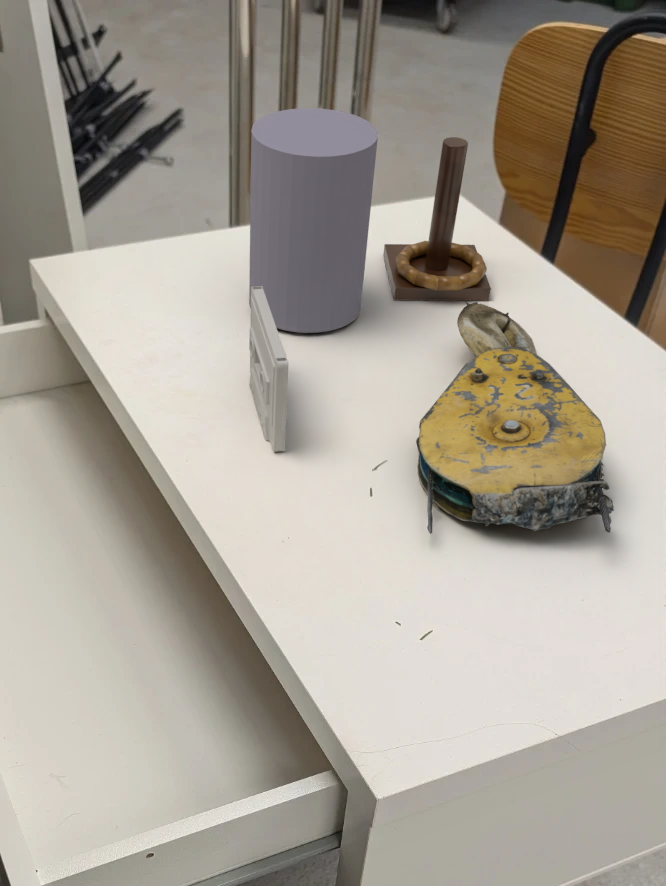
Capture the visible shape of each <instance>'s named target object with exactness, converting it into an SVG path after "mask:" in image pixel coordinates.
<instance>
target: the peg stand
mask: <svg viewBox="0 0 666 886" xmlns="http://www.w3.org/2000/svg"><path fill="white" fill-rule="evenodd" d="M468 147H469V141H468V140H467V139H464V138H461V137H458V136H457V137H456V136H455V137H454V136H451V137H446V138H444V139H443V140H442V146H441V152H440V158H439V159H440V160H439V166H438V171H437V172H438V173H437V179H436V186H435V194H434V199H433V205H432V213H431V214H432V215H431V221H430V226H429V234H428V240H427V241H428V247H427V254H426V255H422V256H419V257H415V258H412V259H411V260H410V261H409V263H410V265H411V266H412V267H414V268H415V269H417V270H418V271H420V272H423V273H427V274H431V275H435V276H460V275H463V274H466V273H469V272H471V271H472V266H471V265H470V264H468V263H467V262H465V261H463V260H462V259H460V258H456V257H452V256H450V251H451V245H452V243H453V237H454V232H455V226H456V220H457V213H458V207H459V202H460V196H461V190H462V189H461V188H462V183H463V177H464V170H465V165H466V158H467V153H468ZM409 245H412V244H411V243H410V244H409V243H408V244H407V243H403V244H402V243H385V244H384V245H383V255H382V257H383V261H384V264H385V269H386V273H387V277H388V281H389V285H390V288H391V292H392V296H393V300H394V301H489V300H490V296H491V292H492V287H491V284H490V282H489V279H488V276H487V273H486V274H485V275H484V276H483V277H482V279H481V280H480V281H479V282H478V283H477V284H476V285H474V286H470V287H467V288H464V289H461V290H432V289H428V288H424V287H420V286H417V285H414V284H412V283H411V282H409V281H408V280H406V279H405V278H403V277H402V276H401V275H400V274H399V272H398V269H397V265H396V257H397V256H398V255H399V253H400V252H401V251H402V250H403V249H404V248H405V247H406V246H409ZM464 245H465V246H467V247H469V248H470V249H472V250H474V251H475V252H477V253H478V250H477V247H476V244H464Z"/></svg>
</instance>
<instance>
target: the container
mask: <svg viewBox="0 0 666 886" xmlns="http://www.w3.org/2000/svg"><path fill="white" fill-rule="evenodd" d="M250 137H251V141H250V143H251V145H250V207H249V209H250V211H249V212H250V213H249V215H250V216H249V218H250V221H249V282H248V283H249V285H248V286H249V291H248V292H249V293H248V295H249V296H248V305H249V310H251V287H255V286H262V287H263V290H264V293H265V296H266V299H267V302H268V305H269V308H270V311H271V313H272V316H273V319H274V322H275V325H276V328H277V330H281V331H284V332H289V333H297V334H318V333H325V332H331V331H334V330H338V329H341V328H343V327H345V326H348V325H349V324H351V323H352V322H354V321H355V320H356V319H357V318H358V316H359V315H360V312H361V309H362V300H363V299H362V298H363V290H364V289H363V287H364V279H365V269H366V260H367V249H368V240H369V239H368V238H369V228H370V219H371V218H370V217H371V208H372V198H373V190H374V188H373V187H374V178H375V168H376V159H377V148H378V139H379V132H378V130H377V128H376V126H374V125H373V124H372V123H371V122H370V121H368V120H366V119H364V118H363V117H360V116H358V115H356V114H353V113H349V112H345V111H342V110H336V109H328V108H319V107H307V108H306V107H299V108H290V109H289V108H288V109H282V110H278V111H274V112H271V113H268V114H265V115H263V116H261V117H260V118H258V119H257V120H256V121H255V122H253V125H252V127H251V135H250Z"/></svg>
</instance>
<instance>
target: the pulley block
mask: <svg viewBox="0 0 666 886" xmlns="http://www.w3.org/2000/svg"><path fill="white" fill-rule="evenodd" d="M464 301H465V304H466V306H464V307H463V308H462V310H461V311H460V312H459V314H458V317H457V320H456V325H457V328H458V331H459V334H460V337H461V338H462V340H463V342H464V343H465V345H466V346H467V347H468V349H469V350H470V351H471V353H472V354H473V355H474V356H475V357H474V358H473V359H471V360H470V361H469V362H467V363H465V364H464V366H463V367H462V368H461V370H460V371H458V373H457V375H456V376H455V377H454V379H453V380H452V381H451V382H450V383H449V385H447V387H446V389H444V391H443V392H442V393H441V395H440V396H439V397H438V399H437V400H436V401H435V402H434V403H433V404H432V405H431V407H430V408H429V409H428V411H427V412H426V413H425V414H424V415H423V416H422V418H421V419H420V421H419V426H418V428H419V434H418V437H417V439H416V440H415V442H416V446H417V450H418V461H417V467H416V468H417V475H418V479H419V483H420V485H421V486H422V488H423V489H424V491H425V493H426V494H427V510H426V511H427V527H426V528H427V531H428V533H429V535H432V534H433V523H434V521H433V519H434V518H433V506H434V503H435V504H436V505H437V506H438V507H439V508H440V509H442V510H443V511H444V512H446V513H447V514H449V515H451V516H452V517H455V518H456V519H458V520H460V521H461V522H474V523H481V524H485V525H484V526H485V527H488V526H489V525H490V524H494V525H502V524H513V525H515V526H517V527H519V528H523V529H527V530H532V531H534V532H539V531H540V530H547V529H550V528H551V527H553V526H556V525H559V524H564V523H568V522H571V521H575V520H580V519H584V518H588V517H591V516H596V515H597V516H601V520H602V524H603V528H604V531H605V532H607V533H609V534H610V533H611V530H612V528H611V524H612V518H611V515H610V514H611V513H612V512H614V510H615V509H614V502H613V500H612V498H610V497H608V495H606V494H604V490H605V491H609V490H610V486H609V484H608V482H606V481H604V479H603V477H605V474H604V473H603V471H604V470H603V466H604V463H603V462H602V459H603V457H604V453H605V451H606V447H607V443H606V442H607V441H606V432H605V429H604V426H603V424H602V421H601V419H600V418H599V417H598V416H597V415H596V414H595V412H594V411H593V410H592V409H591V408H590V407H589V406H588V405H587V404H586V402H585V401H584V400H583V399H582V398H581V397H580V395H578V393H577V392H576V391H575V390H574V389H573V388H572V387H571V386H570V385H569V383H568V382H567V381H566V380H565V379H564V377H562V375H561V374H560V373H559V372H558V371H557V370H556V369H555V368H554V367H553V365H551V364H550V363H549V362H548V361H546V360H545V359H544V358H542V357H541V356H540V355H538V353H537V349H536V346H535V343H534V341H533V338H532V337H531V336H530V335H529V334H528V332H527V331H526V329H524V328H523V327H522V326H521V324H519V323H518V322H517V321H515V320H514V319H513V318H511V317H510V316H509V312H506V313H504V312H502V311H501V310H498V309H497V308H494V307H491V306H489V305H487V304H484V303H479V302H478V301H476V302H472V303H469V302H468V301H467V300H464Z"/></svg>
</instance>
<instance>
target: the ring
mask: <svg viewBox="0 0 666 886" xmlns="http://www.w3.org/2000/svg"><path fill="white" fill-rule="evenodd" d="M465 245H466V244H461V243H457V242H452V245H451V251H450V256H452V257H456V258H460V259H462V260H463V261H465V262H467V263H468V264H470V265H471V266H472V271H471V272H469V273H466V274H463V275H460V276H435V275H431V274H427V273H423V272H420V271H418V270H417V269H415V268H414V267H412V266H411V265H410V263H409V261H410V260H411V259H412V258H415V257H419V256H422V255H426V254H427V247H428V240H423V241H420V242H416V243H413V244H412V245H409V246H406V247H405V248H404V249H403V250H402V251H401V252H400V253H399V255H398V256H397V257H396V265H397V269H398V272H399V274H400V275H401V276H402V277H403V278H405V279H406V280H408V281H409V282H411V283H412V284H414V285H417V286H420V287H424V288H428V289H432V290H461V289H464V288H467V287H470V286H474V285H476V284H477V283H478V282H479V281H480V280H481V279H482V277H483V276H484V275H485V274H486V275H487V270H488V268H487V265H486V262H485V260H484V258H483V256H482V255H481V254H480V253H479V252H478V251H477V252H475V251H474V250H472V249H470V248H469V247H467V246H465Z"/></svg>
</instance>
